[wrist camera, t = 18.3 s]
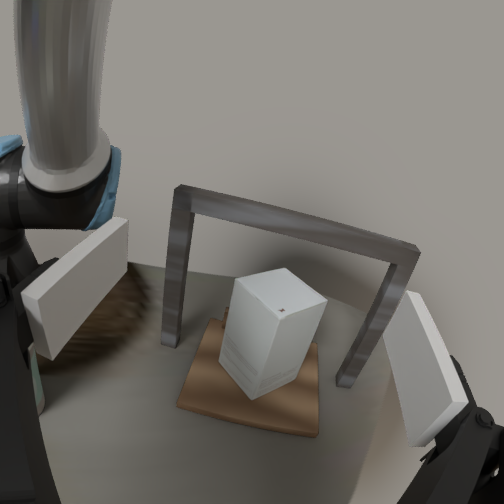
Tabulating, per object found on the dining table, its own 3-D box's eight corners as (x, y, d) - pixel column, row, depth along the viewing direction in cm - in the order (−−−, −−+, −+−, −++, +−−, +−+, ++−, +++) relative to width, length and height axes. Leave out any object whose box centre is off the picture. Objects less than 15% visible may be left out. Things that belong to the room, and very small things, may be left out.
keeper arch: (355, 442, 32) (453, 299, 22) (135, 393, 32) (133, 219, 23) (345, 354, 46) (402, 228, 37) (177, 313, 47) (195, 174, 38)
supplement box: (296, 380, 38) (331, 301, 33) (250, 402, 34) (279, 319, 28) (262, 344, 43) (286, 265, 38) (216, 360, 39) (233, 276, 33)
